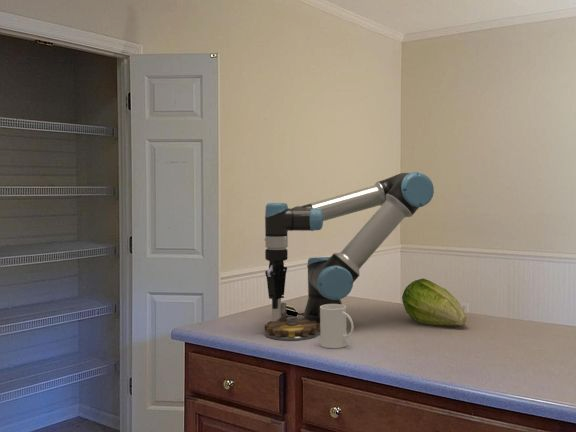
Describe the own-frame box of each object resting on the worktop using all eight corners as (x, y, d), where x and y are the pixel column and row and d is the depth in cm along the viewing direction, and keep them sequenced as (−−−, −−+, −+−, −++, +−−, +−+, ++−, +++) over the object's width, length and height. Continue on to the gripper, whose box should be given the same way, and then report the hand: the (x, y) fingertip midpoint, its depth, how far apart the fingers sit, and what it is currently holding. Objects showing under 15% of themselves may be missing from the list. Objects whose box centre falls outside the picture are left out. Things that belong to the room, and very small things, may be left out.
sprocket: (330, 332, 193) (329, 308, 193) (280, 340, 184) (280, 315, 184) (302, 320, 209) (301, 299, 209) (255, 328, 200) (255, 305, 200)
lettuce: (473, 335, 204) (444, 347, 194) (419, 303, 222) (390, 313, 213) (482, 297, 198) (453, 308, 189) (426, 267, 217) (396, 276, 207)
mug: (361, 346, 179) (360, 307, 179) (342, 352, 174) (341, 312, 173) (333, 339, 188) (332, 302, 187) (314, 344, 182) (313, 306, 182)
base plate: (313, 324, 208) (313, 322, 207) (325, 338, 189) (325, 336, 189) (261, 328, 204) (261, 325, 204) (268, 342, 186) (268, 339, 186)
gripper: (274, 246, 206) (274, 312, 207) (257, 249, 194) (258, 320, 195) (294, 247, 203) (294, 314, 204) (278, 250, 191) (278, 322, 192)
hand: (276, 317), depth 200 cm, fingers closed
